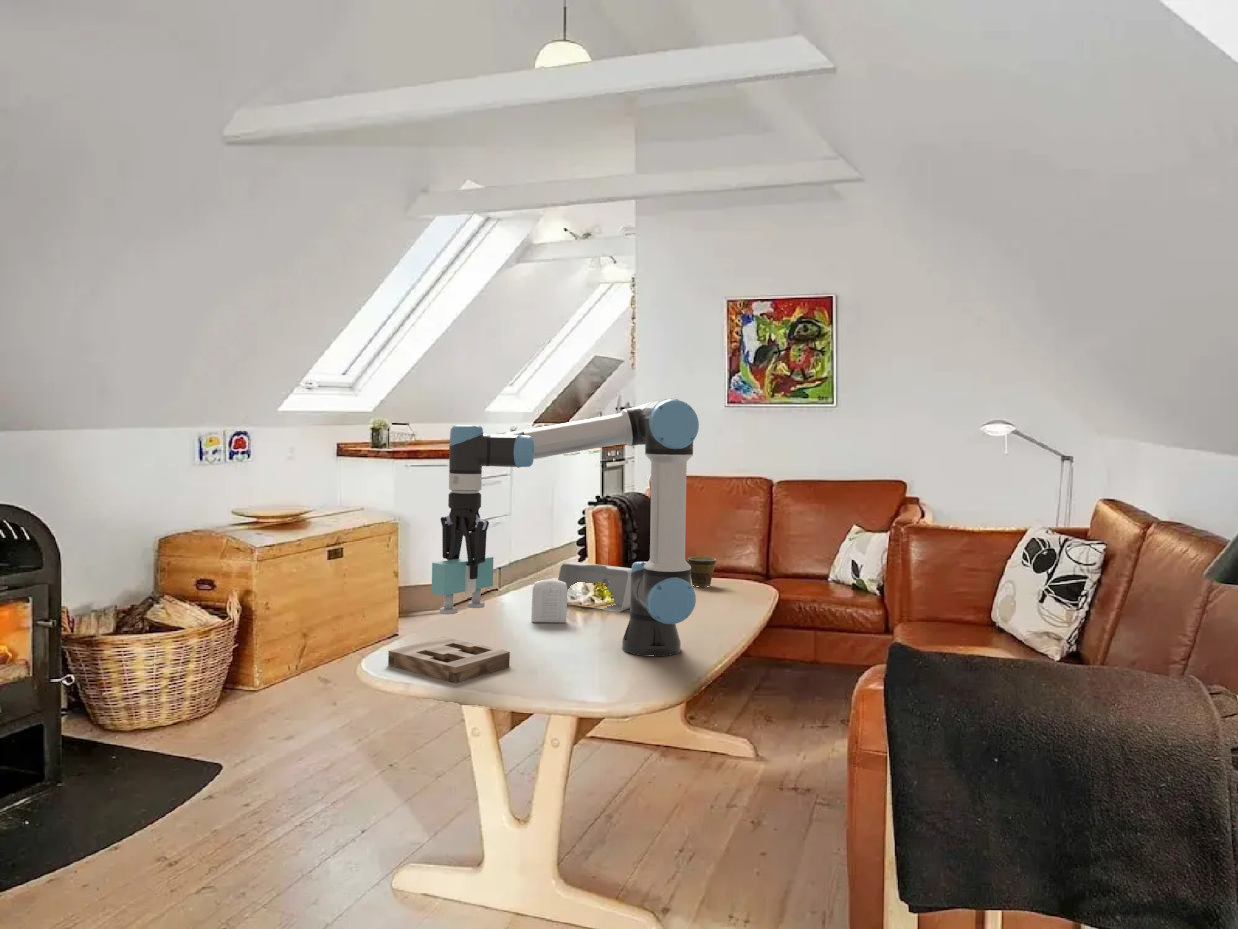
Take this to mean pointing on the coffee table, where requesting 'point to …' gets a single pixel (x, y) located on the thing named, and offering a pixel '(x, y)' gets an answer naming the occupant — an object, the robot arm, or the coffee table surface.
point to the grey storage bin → (601, 580)
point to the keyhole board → (449, 659)
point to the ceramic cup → (701, 570)
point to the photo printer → (549, 601)
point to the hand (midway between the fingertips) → (462, 591)
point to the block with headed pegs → (459, 581)
